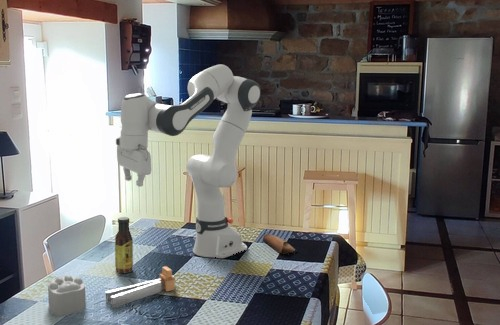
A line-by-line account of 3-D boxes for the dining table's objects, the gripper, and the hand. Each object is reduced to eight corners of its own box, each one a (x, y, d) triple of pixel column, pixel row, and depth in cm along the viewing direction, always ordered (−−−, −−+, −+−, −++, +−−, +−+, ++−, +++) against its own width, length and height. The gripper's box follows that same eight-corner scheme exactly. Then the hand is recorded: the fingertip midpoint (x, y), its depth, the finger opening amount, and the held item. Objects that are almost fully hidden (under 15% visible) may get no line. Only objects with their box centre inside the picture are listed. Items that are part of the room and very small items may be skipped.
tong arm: (159, 290, 182) (159, 280, 181) (161, 291, 181) (161, 281, 180) (111, 306, 169) (111, 296, 169) (113, 307, 168) (113, 297, 168)
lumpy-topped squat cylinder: (53, 318, 162) (52, 291, 160) (45, 300, 172) (44, 275, 171) (88, 310, 167) (87, 284, 165) (78, 294, 178) (77, 269, 176)
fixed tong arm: (172, 285, 186) (172, 275, 186) (174, 286, 185) (174, 276, 185) (105, 302, 172) (105, 291, 172) (107, 303, 171) (107, 292, 171)
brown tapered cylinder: (299, 252, 219) (293, 240, 217) (286, 263, 218) (279, 250, 215) (279, 238, 236) (273, 227, 233) (267, 248, 234) (260, 236, 231)
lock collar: (167, 283, 186) (167, 265, 185) (174, 289, 182) (174, 270, 181) (159, 285, 185) (159, 266, 183) (166, 291, 180) (166, 272, 179)
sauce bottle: (128, 275, 194) (127, 222, 190) (112, 273, 195) (111, 220, 191) (136, 268, 200) (135, 216, 196) (120, 266, 201) (119, 215, 197)
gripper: (156, 146, 173) (155, 188, 176) (130, 138, 189) (130, 176, 192) (138, 147, 170) (137, 190, 172) (113, 138, 186) (113, 178, 188)
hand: (133, 183), depth 182 cm, fingers open, 8 cm apart
